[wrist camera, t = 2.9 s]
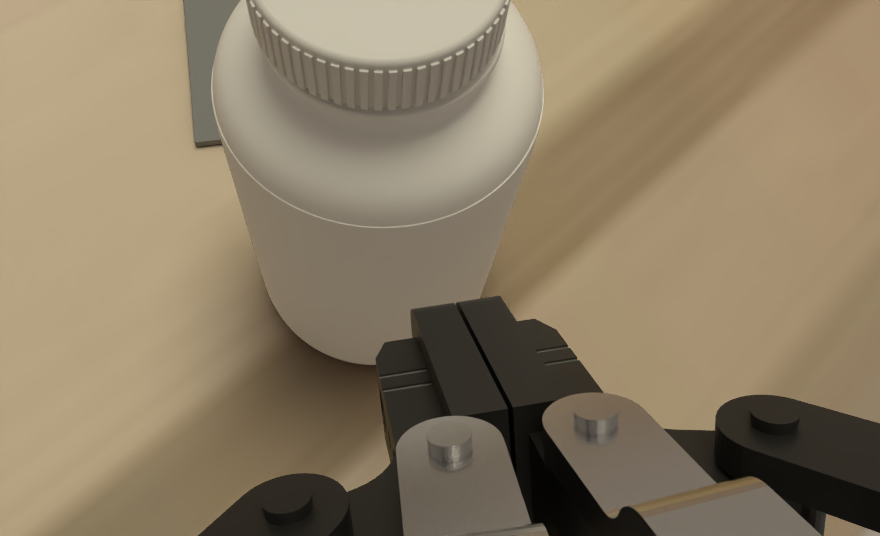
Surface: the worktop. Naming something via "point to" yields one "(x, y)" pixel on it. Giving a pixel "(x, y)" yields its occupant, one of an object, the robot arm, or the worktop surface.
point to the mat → (204, 61)
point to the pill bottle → (375, 154)
